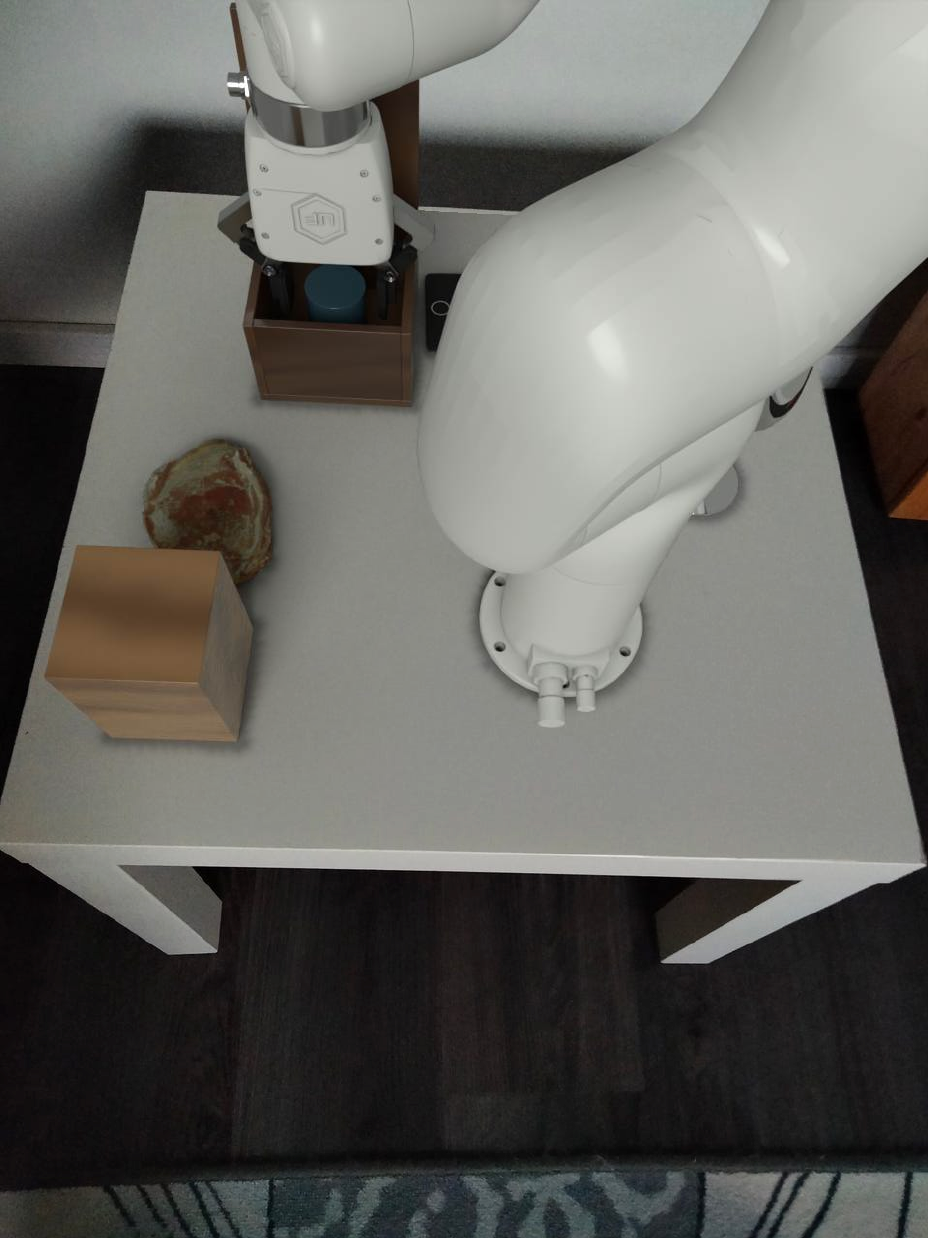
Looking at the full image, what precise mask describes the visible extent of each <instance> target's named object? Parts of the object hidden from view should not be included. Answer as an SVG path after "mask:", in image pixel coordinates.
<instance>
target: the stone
mask: <svg viewBox="0 0 928 1238" xmlns="http://www.w3.org/2000/svg"><path fill="white" fill-rule="evenodd" d="M142 493H143V495H142V498H143V511H142V512H141V514H142V521H143V526H144V530H145V532H146V534H147V537H148V539H149V541H150V542H151V544H152V545H153V547H154V548H159V549H183V550H207V551H220V552H221V554H222V557H223V559H224V561H225V564H226V566H227V568H228V571H229V573H230V575H231V578H232V580H233V582H234V585H235V586H236V585H238V584H241V583H244V582H245V583H246V582H248V581H250V580H253V579H255V578H256V577H257V576H258V574H259V573H260V572H261V571H264V570H265V569H266V568H268V564H269V563H270V561H271V560H272V556H273V552H274V539H273V535H272V521H273V501H272V493H271V489H270V486H269V484H268V482H267V480H266V479H265V477H264V475H263V474H262V473H261V472H260V470H259V469H258V468H257V466H256V465H255V464H254V462H253V458H252V456H251V453H250V452H249V450H248V448H247V447H246V446H245V447H240V446H239V445H238V444H233V443H231V442H230V441H228V440H225V439H222V438H214V439H207V440H203V441H201V442H199V443H198V444H197V447H193V448H191V449H189V450H187V451H186V452H185V453H184V454H183V455H182V456H180V457H179V459H178V460H173V459H172V461H168V462H165V463H163V464H162V465H161V466H160V467H158V468H155V469H154V470H153V471H151V474H150V477H149V478H148V480H147V481H146V483H145V485H144V489H143V492H142Z"/></svg>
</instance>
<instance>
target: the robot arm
mask: <svg viewBox="0 0 928 1238" xmlns="http://www.w3.org/2000/svg"><path fill="white" fill-rule="evenodd" d="M540 1H541V0H234V3H235V4H236V9H237V14H238V20H239V25H240V31H241V36H242V42H243V47H244V52H245V58H246V63H247V65H246V68H245V71H240V70H239V71H238V72H233V71H232V72H228V73H227V78H226V79H227V90H228V94H229V97H231V98H241V100H243V101H245V100H247V101H248V103H249V105H250V106H251V107H250V109H249V112H248V115H246V117H245V121H244V156H245V157H244V158H245V159H244V161H245V171H246V181H247V191H246V192H245V193H244V194H242V195H240V196H239V197H238V198H236V199H235V200H234V201H233V202H231V203H230V204H228V205H227V206H226V207H224V208H223V209H221V210H220V212H219V213H218V220H217V224H216V227H217V229H218V230H219V231H220V232H221V233H223V235H225V237H227V238H228V239H229V240H230V241H231V242H232V243H234V244H236V245H237V246H238V248H239V251H240V252H241V253H243V254H244V255H245V256H246V257H248V258H249V259H250V260H252V262H254V261H255V262H256V263H258V264H259V265H260V266H262V267H261V270H262V272H263V273H264V274H265V275H267V276H269V281H270V286H271V290H272V295H273V299H279V300H280V305H281V310H282V315H289V314H291V313H292V307H293V300H294V292H295V286H294V281H293V275H292V269H291V264H290V262H301V263H320V264H341V265H374V266H375V268H376V269H377V270H378V271H377V301H378V317H379V318H381V320H387V315H388V304H392V305H396V280H397V278H398V274H399V273H400V272H401V271H403V270H404V269H405V268H407V267H408V266H409V265H411V264H412V263H413V262H415V261H416V259H417V256H418V257H419V256H420V254H422V253H423V252H424V251H425V250H426V249H427V248H428V247H429V246H430V245H432V243H433V242H434V241H435V239H436V224H435V223H434V222H433V221H432V220H431V219H429V218H428V217H427V216H425V215H424V214H422V213H421V212H420V211H419V210H416V209H414V208H413V207H411V206H410V205H409V204H407V203H406V202H405V201H403V200H402V199H400V198H399V197H398V196H396V195H395V194H394V193H393V183H392V174H391V166H390V159H389V152H388V146H387V141H386V137H385V132H384V128H383V123H382V120H381V116H380V113H379V110H378V108H377V107H376V105H375V104H374V103H373V102H371V101H370V99H372V98H375V97H378V96H380V95H383V94H385V93H388V92H390V91H393V90H395V89H398V88H400V87H402V86H403V85H405V84H408V83H410V82H413V81H416V80H418V79H420V80H421V79H423V78H426V77H428V76H431V75H433V74H436V73H438V72H441V71H443V70H446V69H449V68H451V67H454V66H457V65H459V64H462V63H465V62H467V61H470V60H472V59H475V58H478V57H479V56H482V55H484V54H486V53H487V52H489V51H491V50H493V49H494V48H496V47H497V46H498V45H500V44H501V43H503V42H504V41H505V40H507V38H509V37H510V36H511V35H512V34H513V33H514V32H515V31H516V30H517V29H518V28H519V26H521V24H522V23H523V22H524V21H525V20H526V19H527V18H528V16H529V15H530V14H531V13H532V11H533V10H534V9H535V8H536V6H537V5H538V4H539V3H540ZM733 62H734V63H733V64H732V65H731V67H730V69H729V70H728V72H727V74H726V75H725V76H724V78H723V80H722V81H721V82H720V84H719V85H718V87H717V88H716V89H715V91H714V93H712V95H711V96H710V97H709V99H708V100H707V101H706V102H705V104H704V105H702V108H700V110H699V111H698V112H697V113H696V115H694V116H693V117H692V118H691V119H690V120H689V121H687V122H686V123H685V124H683V125H682V126H681V127H679V128H678V129H675V130H674V131H673V132H671V133H670V134H668V135H667V136H665V137H663V138H661V139H660V140H659V141H656V142H655V143H653V144H651V145H649V146H647V147H646V148H644V149H642V150H640V151H638V152H636V153H634V154H632V155H630V156H628V157H626V158H624V159H622V160H620V161H618V162H616V163H614V164H611V165H609V166H607V167H605V168H603V169H601V170H598V171H596V172H594V173H592V174H590V175H588V176H586V177H584V178H581V179H580V180H577V181H575V182H573V183H571V184H569V185H566V186H565V187H563V188H560V189H558V190H556V191H555V192H552V193H550V194H548V195H546V196H545V197H543V198H541V199H540V200H537V201H536V202H534V203H532V204H530V205H529V206H526V207H525V208H524V209H522V210H521V211H520V212H518V213H516V214H515V215H513V216H512V217H510V218H509V219H507V220H506V221H505V222H504V223H503V224H502V225H500V226H498V228H497V229H496V230H495V231H493V233H492V234H491V235H490V236H489V237H488V238H487V239H486V240H485V241H484V242H483V243H482V244H481V246H479V248H478V249H477V251H476V252H475V253H474V254H473V256H472V257H471V259H470V260H469V261H468V262H467V264H466V266H465V267H464V269H463V270H462V273H461V274H462V275H461V277H460V279H459V282H458V284H457V287H456V290H455V293H454V296H453V298H452V301H451V304H450V307H449V311H448V314H447V318H446V321H445V325H444V328H443V332H442V335H441V339H440V342H439V346H438V349H437V351H436V352H435V353H436V354H435V357H434V360H433V364H432V367H431V371H430V375H429V378H428V381H427V384H426V389H425V392H424V395H423V400H422V403H421V408H420V411H419V412H420V413H419V417H418V423H417V431H416V432H417V434H416V435H417V436H416V456H417V466H418V467H417V468H418V472H419V477H420V482H421V486H422V490H423V493H424V496H425V499H426V502H427V504H428V507H429V509H430V511H431V514H432V515H433V517H434V519H435V521H436V523H437V524H438V526H439V528H440V529H441V530H442V532H443V533H444V534H445V536H446V537H447V538H448V540H450V541H451V543H452V545H454V546H455V547H456V548H457V549H458V550H459V551H461V552H462V553H463V554H464V555H466V556H467V557H468V558H470V559H471V560H472V561H474V562H475V563H477V564H479V565H481V566H483V567H485V568H487V569H490V570H493V571H495V572H494V573H493V574H492V575H491V577H490V578H489V579H488V581H487V583H486V586H485V588H484V590H483V593H482V597H481V601H480V606H479V615H478V620H479V621H478V622H479V630H480V631H479V632H480V636H481V639H482V641H483V645H484V648H485V649H486V651H487V652H488V654H489V655H488V656H489V657H490V659H491V660H492V661H493V662H494V663H495V665H496V666H497V667H498V669H499V670H500V671H501V672H502V673H503V674H505V675H506V676H507V677H508V678H509V679H511V680H512V681H513V682H515V683H516V684H517V685H520V686H521V687H523V688H525V689H527V690H529V691H532V692H535V693H537V694H538V698H537V725H538V726H540V727H543V728H549V729H554V728H555V729H556V728H560V727H564V726H565V725H566V707H565V705H566V704H565V699H564V698H575V700H576V701H575V702H576V703H575V705H576V710H577V711H578V712H581V713H590V712H594V711H595V710H596V709H597V707H596V706H597V703H596V692H599V691H601V690H603V689H604V688H606V687H608V686H609V685H611V684H612V683H614V682H615V681H617V680H618V679H619V678H620V677H621V675H622V674H624V672H626V670H627V669H628V667H629V666H630V665H631V663H632V662H633V660H634V658H635V656H636V654H637V653H638V650H639V648H640V644H641V640H642V636H643V615H642V609H641V608H642V607H641V603H642V601H643V599H644V598H645V595H646V594H647V593H648V591H649V589H650V587H651V585H652V583H653V581H654V579H655V577H656V576H657V574H658V572H659V570H660V568H661V567H662V565H663V563H664V561H665V559H667V557H668V555H669V554H670V552H671V550H672V549H673V547H674V545H675V543H676V542H677V539H678V538H679V536H680V534H681V533H682V531H683V530H684V528H685V526H686V525H687V523H688V522H689V520H690V518H692V516H693V515H692V514H693V513H694V511H695V510H696V509H697V508H698V506H699V505H700V504H701V502H702V501H703V500H704V499H705V497H706V496H707V495H708V494H709V493H710V492H711V490H712V489H713V488H714V487H715V486H716V484H717V483H718V482H719V481H720V480H721V478H722V477H723V476H724V475H725V474H726V472H727V471H728V470H729V469H730V467H731V466H732V465H733V466H734V463H735V462H736V461H737V460H738V458H739V457H740V456H741V455H742V453H743V452H744V450H745V448H746V447H747V445H748V444H749V441H750V440H751V438H752V437H753V434H754V433H755V432H754V431H755V429H756V427H757V425H758V422H759V420H760V417H761V414H762V411H763V408H764V404H765V401H766V398H768V397H769V396H771V395H772V394H774V393H775V392H777V391H778V390H780V389H781V388H783V387H784V386H786V385H787V384H789V383H790V382H792V381H793V380H795V379H796V378H798V377H799V376H801V375H802V374H803V373H805V372H806V371H807V370H809V369H810V368H811V367H813V368H814V366H815V365H817V364H818V363H819V362H820V361H821V360H822V359H824V358H825V357H826V356H827V355H828V354H829V353H830V352H832V351H833V349H835V348H836V346H837V345H839V344H840V343H841V342H842V340H843V339H844V338H845V337H846V336H847V335H848V334H849V333H851V331H853V329H854V328H855V327H857V325H858V324H859V323H860V322H861V321H862V320H863V319H864V318H865V317H866V316H867V315H868V314H869V313H870V312H871V311H872V310H873V309H875V307H876V306H877V305H878V304H879V303H880V302H881V301H882V300H883V299H884V298H885V297H886V296H887V295H888V294H890V293H891V292H892V290H894V289H895V288H896V287H897V286H898V285H899V284H900V283H901V282H902V281H903V280H904V279H905V278H907V277H908V276H909V275H910V274H911V273H912V272H913V271H914V270H915V269H917V267H919V266H920V265H921V264H922V263H923V262H924V261H925V260H926V259H927V258H928V0H769V1H768V4H767V5H766V8H765V9H764V11H763V13H762V16H761V17H760V19H759V21H758V23H757V25H756V27H754V30H753V31H752V32H751V35H750V36H749V38H748V40H747V41H746V43H745V45H744V46H743V48H742V49H741V51H740V53H739V54H738V56H737V58H736V59H735V61H733ZM251 220H252V227H250V226H248V224H247V223H248V222H249V221H251ZM394 223H395V224H396V225H397V226H399V227H400V228H402V229H403V230H405V231H406V232H408V233H409V234H410V235H408V236H405V237H404V238H403V239H401V240H400V241H399V242H398V243H396V244H395V243H394V242H393V239H394ZM264 234H265V235H264ZM499 585H500V586H499ZM497 649H500V650H501V651H498V650H497ZM623 654H624V655H625V656H624V655H623Z"/></svg>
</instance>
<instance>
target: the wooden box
mask: <svg viewBox="0 0 928 1238" xmlns="http://www.w3.org/2000/svg"><path fill="white" fill-rule="evenodd" d="M264 235H265V234H264ZM408 235H410V234H409V233H408V232H406V231H405V230H403V229H402V228H400V227H399V226H397V225H396V224H395V223H394V239H393V242H394V243H395V244H396V243H398V242H399V241H400V240H401V239H403V238H404V237H405V236H408ZM290 264H291V269H292V275H293V281H294V286H295V292H294V300H293V307H292V313H291V314H289V315H282V310H281V305H280V300H279V299H273V295H272V290H271V286H270V281H269V276H267V275H265V274H264V273H263V272H262V270H261V267H262V266H260V265H259V264H258V263H256V262H255V261H252V269H251V274H250V280H249V286H248V292H247V297H246V304H245V309H244V315H243V321H242V328H243V332H244V333H243V334H244V336H245V341H246V345H247V349H248V352H249V356H250V360H251V364H252V368H253V372H254V376H255V380H256V385H257V388H258V392H259V396H260V400H261V401H276V402H277V401H280V402H298V403H299V402H300V403H318V404H319V403H321V404H322V403H323V404H338V405H339V404H341V405H358V406H359V405H361V406H379V407H381V406H382V407H400V408H401V407H404V408H412V407H413V392H414V391H413V390H414V372H415V358H416V357H415V356H416V339H417V323H418V322H417V321H418V306H419V304H418V303H419V255H418V256H417V259H416V261H415V262H413V263H412V264H411V265H409V266H408V267H407V268H405V269H404V270H403V271H401V272H400V273H399V274H398V278H397V280H396V305H392V304H388V315H387V320H381V318H379V317H378V301H377V271H378V270H377V269H376V268H375V266H374V265H348V266H350V267H352V268H354V269H356V270H357V271H358V272H359V273H360V274H361V275H362V276H363V278H364V280H365V284H366V297H367V311H368V325H361V324H342V323H324V322H309V315H308V309H307V302H306V296H305V289H304V284H305V280H306V278H307V276H308V275H309V274H310V273H311V272H312V271H313V270H314V269H316V268H318V267H320V266H323V265H326V264H320V263H301V262H290Z"/></svg>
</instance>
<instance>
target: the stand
mask: <svg viewBox="0 0 928 1238" xmlns="http://www.w3.org/2000/svg"><path fill="white" fill-rule="evenodd" d="M71 563H72V564H71V567H70V571H69V575H68V578H67V582H66V587H65V590H64V591H65V592H64V595H63V599H62V604H61V607H60V611H59V616H58V619H57V624H56V627H55V632H54V635H53V639H52V644H51V648H50V652H49V655H48V660H47V664H46V669H45V672H44V680H46V681H47V682H48V683H49V684H50V685H51V686H52V687H53V688H54V689H56V690H57V691H58V692H59V693H60V694H61V695H62V696H64V697H65V698H66V699H67V700H68V701H69V702H70V703H72V704H73V706H75V707H76V708H78V710H80V712H82V713H83V714H84V715H85V716H86V717H87V718H88V719H90V721H92V722H93V723H94V724H95V725H96V726H97V727H98V728H100V729H101V730H102V731H103V732H105V733H106V734H107V735H108V736H109V737H110V738H114V739H115V738H116V739H142V740H143V739H145V740H168V741H169V740H173V741H201V742H202V741H203V742H205V741H206V742H228V743H229V742H231V743H232V742H235V743H238V742H239V736H240V729H241V722H242V714H243V708H244V707H243V706H244V701H245V700H244V699H245V692H246V685H247V677H248V670H249V663H250V656H251V651H252V641H253V634H254V627H253V624H252V622H251V619H250V618H249V617H250V616H249V615H248V613H247V610H246V608H245V606H244V603H243V601H242V599H241V596H240V594H239V592H238V589H237V587H236V585H234V582H233V580H232V578H231V575H230V573H229V571H228V568H227V566H226V564H225V561H224V559H223V557H222V554H221V552H220V551H207V550H183V549H159V548H155V547H154V548H153V547H135V546H134V547H133V546H109V545H88V544H87V545H85V544H77V545H76V546H75V550H74V553H73V558H72V562H71Z"/></svg>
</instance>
